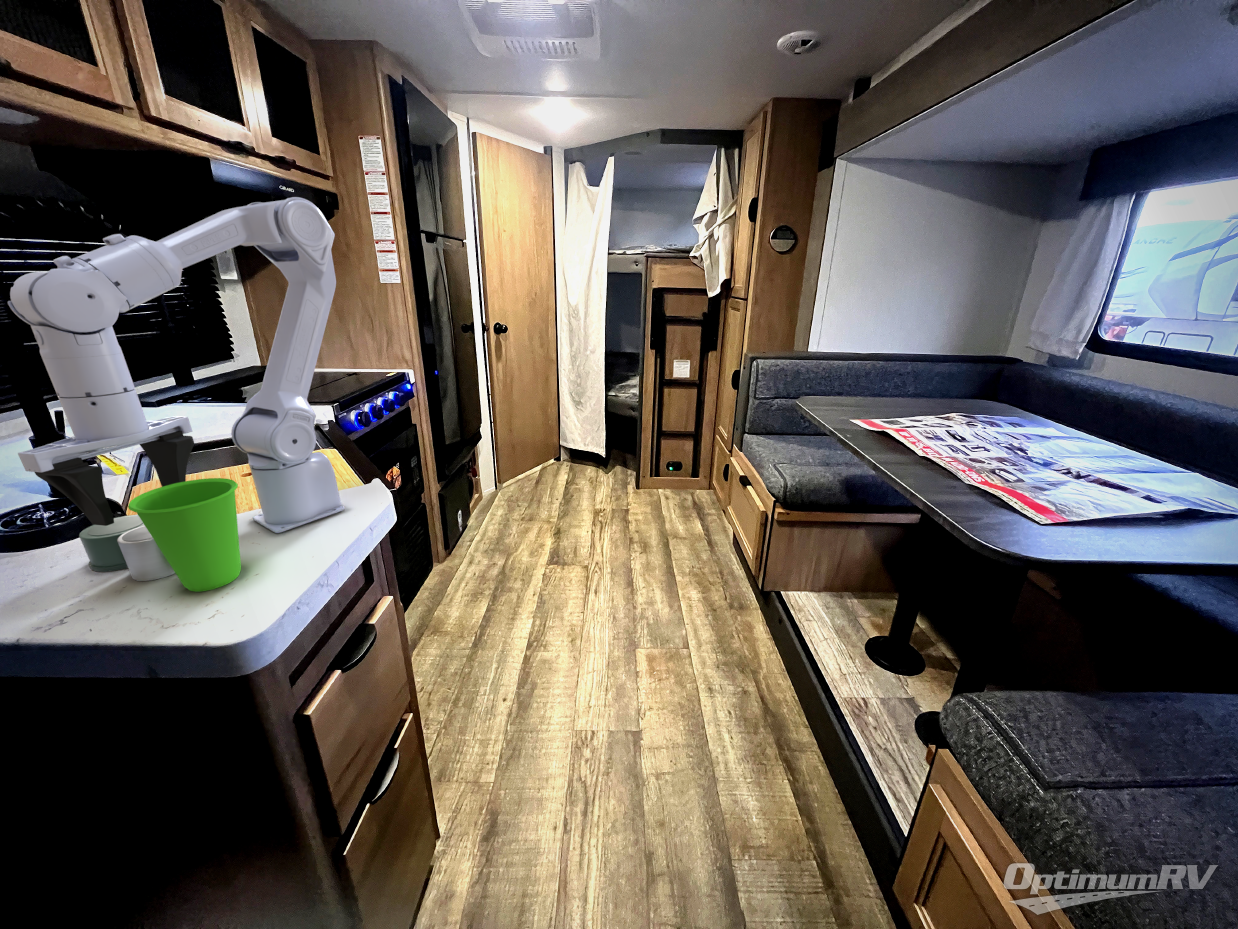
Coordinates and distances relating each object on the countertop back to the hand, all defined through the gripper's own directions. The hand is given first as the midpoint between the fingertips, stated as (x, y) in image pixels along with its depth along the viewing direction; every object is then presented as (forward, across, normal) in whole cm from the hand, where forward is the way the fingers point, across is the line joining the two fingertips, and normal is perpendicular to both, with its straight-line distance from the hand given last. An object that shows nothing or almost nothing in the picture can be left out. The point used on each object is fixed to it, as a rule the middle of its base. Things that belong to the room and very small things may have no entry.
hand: (142, 508), depth 55 cm
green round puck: (+8, -1, -7) cm, 11 cm away
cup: (+8, +1, +8) cm, 12 cm away
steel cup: (+8, 0, 0) cm, 8 cm away
